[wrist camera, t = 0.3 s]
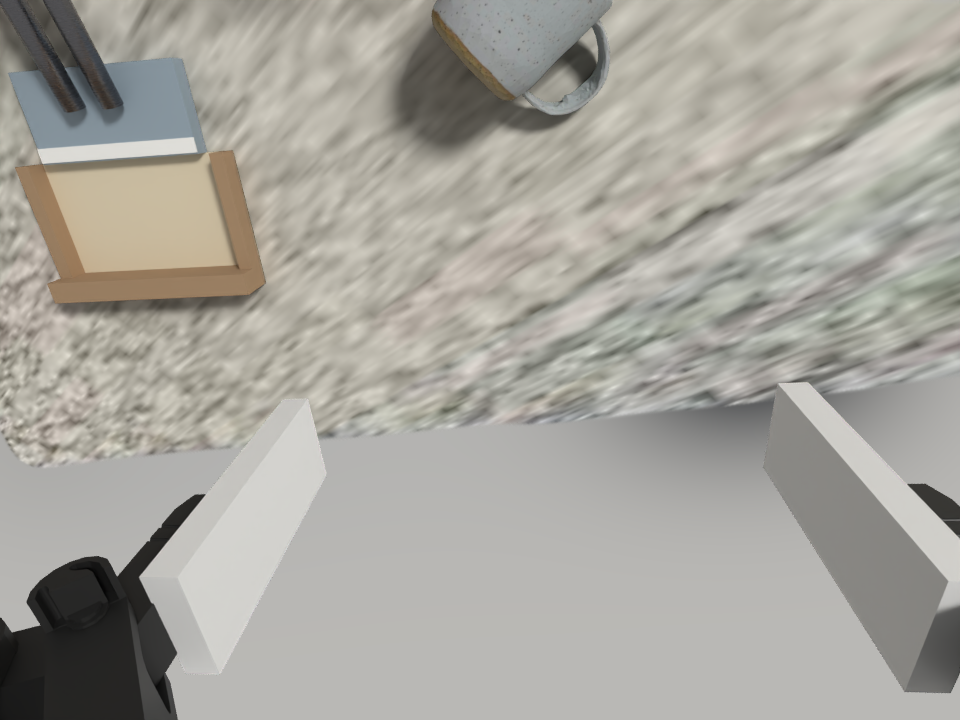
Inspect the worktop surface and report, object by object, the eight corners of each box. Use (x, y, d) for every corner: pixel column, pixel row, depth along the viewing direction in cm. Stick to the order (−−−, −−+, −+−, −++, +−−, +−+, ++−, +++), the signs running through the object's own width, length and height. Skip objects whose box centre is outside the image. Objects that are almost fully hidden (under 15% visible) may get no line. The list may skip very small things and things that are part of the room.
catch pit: (32, 165, 41) (-2, 169, 39) (232, 150, 40) (211, 154, 37) (83, 291, 46) (55, 303, 43) (266, 282, 44) (248, 294, 41)
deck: (22, 73, 38) (6, 72, 37) (182, 58, 37) (170, 57, 36) (56, 163, 41) (43, 165, 40) (207, 152, 40) (197, 153, 39)
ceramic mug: (431, 23, 35) (409, 8, 28) (521, -96, 32) (521, -145, 25) (545, 144, 38) (550, 157, 31) (638, 45, 35) (667, 35, 28)
